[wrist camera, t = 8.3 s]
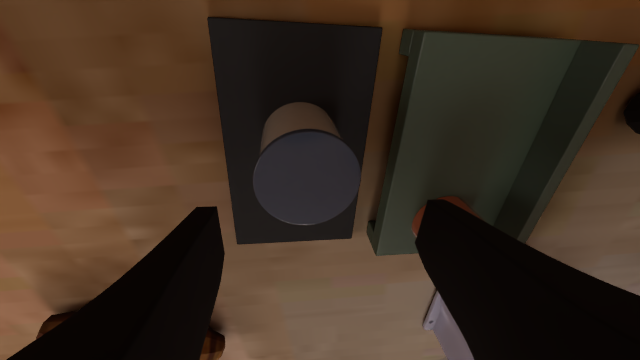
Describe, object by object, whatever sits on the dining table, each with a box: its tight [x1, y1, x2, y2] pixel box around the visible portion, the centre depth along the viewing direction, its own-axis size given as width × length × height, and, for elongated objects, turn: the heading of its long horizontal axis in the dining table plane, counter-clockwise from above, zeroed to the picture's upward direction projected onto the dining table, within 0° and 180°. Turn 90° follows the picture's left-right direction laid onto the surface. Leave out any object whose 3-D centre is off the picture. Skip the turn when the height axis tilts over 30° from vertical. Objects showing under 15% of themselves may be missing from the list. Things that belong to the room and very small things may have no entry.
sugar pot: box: [253, 102, 361, 225], centre depth 14 cm, size 5×5×5 cm
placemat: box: [207, 17, 382, 244], centre depth 17 cm, size 14×8×1 cm, turn 177°
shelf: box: [367, 29, 639, 256], centre depth 17 cm, size 14×9×4 cm, turn 177°
